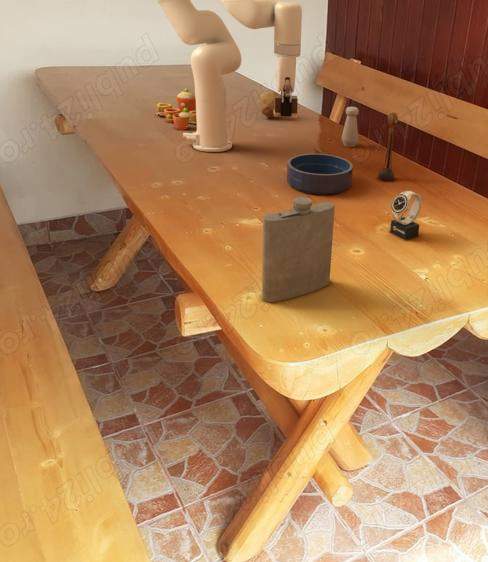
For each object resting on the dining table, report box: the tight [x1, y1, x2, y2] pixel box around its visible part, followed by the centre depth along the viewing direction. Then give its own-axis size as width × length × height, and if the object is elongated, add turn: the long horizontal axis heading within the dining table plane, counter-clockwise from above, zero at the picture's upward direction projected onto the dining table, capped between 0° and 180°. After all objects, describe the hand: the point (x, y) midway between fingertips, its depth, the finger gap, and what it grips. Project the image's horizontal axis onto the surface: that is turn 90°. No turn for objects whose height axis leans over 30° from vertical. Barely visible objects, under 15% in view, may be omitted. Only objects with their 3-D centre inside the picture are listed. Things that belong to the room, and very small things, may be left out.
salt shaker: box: [341, 106, 360, 148], centre depth 217 cm, size 6×6×13 cm
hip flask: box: [261, 196, 336, 303], centre depth 126 cm, size 16×4×20 cm, turn 128°
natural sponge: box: [259, 90, 279, 119], centre depth 242 cm, size 9×9×10 cm
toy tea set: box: [153, 87, 197, 131], centre depth 231 cm, size 26×16×10 cm, turn 30°
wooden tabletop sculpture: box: [377, 112, 401, 183], centre depth 188 cm, size 6×5×20 cm
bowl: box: [286, 153, 354, 196], centre depth 184 cm, size 19×19×6 cm
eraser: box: [273, 94, 299, 119], centre depth 190 cm, size 7×4×6 cm, turn 98°
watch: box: [389, 190, 422, 241], centre depth 156 cm, size 6×8×11 cm
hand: (285, 113), depth 191 cm, fingers closed on eraser, 4 cm apart
